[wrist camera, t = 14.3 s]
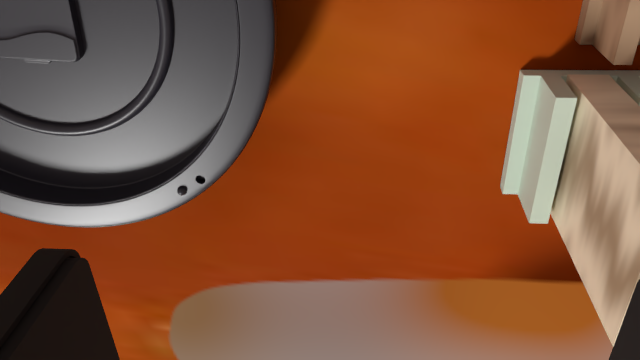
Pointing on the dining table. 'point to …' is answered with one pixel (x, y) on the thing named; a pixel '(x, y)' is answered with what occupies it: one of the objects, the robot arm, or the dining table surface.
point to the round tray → (126, 103)
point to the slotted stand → (545, 134)
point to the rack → (610, 28)
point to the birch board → (602, 195)
